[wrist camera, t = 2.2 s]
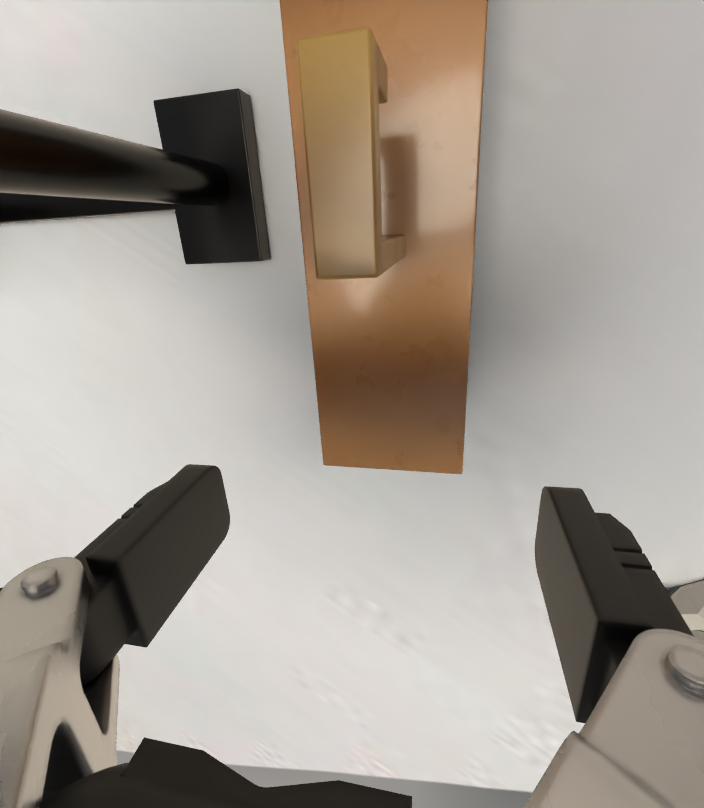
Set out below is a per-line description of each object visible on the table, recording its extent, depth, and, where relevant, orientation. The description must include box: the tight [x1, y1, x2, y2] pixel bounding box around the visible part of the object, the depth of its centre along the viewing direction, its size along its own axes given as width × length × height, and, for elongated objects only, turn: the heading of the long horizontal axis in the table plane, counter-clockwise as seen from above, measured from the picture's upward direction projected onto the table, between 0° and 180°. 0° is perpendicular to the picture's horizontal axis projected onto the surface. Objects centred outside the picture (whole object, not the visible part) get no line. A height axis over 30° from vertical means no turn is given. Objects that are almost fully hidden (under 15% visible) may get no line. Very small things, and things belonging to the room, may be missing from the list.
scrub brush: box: [280, 0, 488, 474], centre depth 12 cm, size 18×5×11 cm, turn 3°
